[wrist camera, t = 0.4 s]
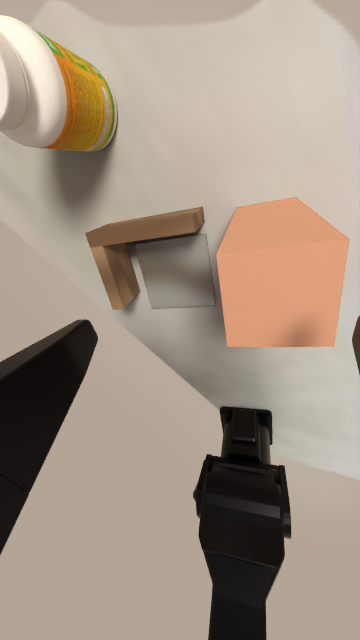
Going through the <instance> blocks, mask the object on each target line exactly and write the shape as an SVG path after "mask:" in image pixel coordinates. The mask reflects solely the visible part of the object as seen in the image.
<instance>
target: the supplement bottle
mask: <svg viewBox="0 0 360 640" xmlns="http://www.w3.org/2000/svg"><path fill="white" fill-rule="evenodd" d="M116 123H117V107H116V101H115V97H114V94H113V91H112V88H111V86H110V84H109V83H108V81H107V79H106V78H105V76H104V75H103V74H102V73H101V72H100V71H99V70H98V69H97V68H96V67H95V66H93V65H92V64H90V63H89V62H87V61H86V60H84V59H82V58H80V57H79V56H77V55H76V54H74V53H72V52H71V51H69V50H67V49H66V48H64V47H62V46H61V45H59V44H57V43H56V42H54V41H52V40H51V39H49V38H48V37H46V36H44V35H43V34H41V33H39V32H38V31H36V30H35V29H33V28H31V27H30V26H28V25H26V24H25V23H23V22H21V21H18V20H17V19H15V18H12V17H8V16H0V130H1V131H2V132H3V133H4V134H5V135H6V136H8V137H9V138H10V139H12V140H14V141H15V142H17V143H19V144H22V145H25V146H29V147H36V148H48V149H60V150H72V151H84V152H94V151H98V150H100V149H102V148H104V147H105V146H106V145H107V144H108V143H109V142H110V140H111V139H112V137H113V135H114V132H115V128H116Z"/></svg>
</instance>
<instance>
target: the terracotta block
mask: <svg viewBox="0 0 360 640" xmlns="http://www.w3.org/2000/svg"><path fill="white" fill-rule="evenodd" d="M348 245H349V238H347V237H346V236H345V235H343V234H342V233H341V232H340V231H338V230H337V229H336V228H335V227H333V226H332V225H331V224H330V223H328V222H327V221H326V220H324V219H323V218H322V217H321V216H319V215H318V214H317V213H316V212H314V211H313V210H312V209H311V208H309V207H308V206H307V205H305V204H304V203H303V202H302V201H300V200H299V199H298V198H297V197H294V198H288V199H282V200H276V201H271V202H265V203H259V204H253V205H247V206H242V207H237V209H236V211H235V213H234V215H233V218H232V220H231V222H230V224H229V227H228V229H227V231H226V234H225V236H224V238H223V240H222V243H221V245H220V247H219V250H218V252H217V254H216V257H217V265H218V274H219V282H220V291H221V299H222V307H223V316H224V324H225V332H226V341H227V347H334V345H335V338H336V331H337V324H338V316H339V309H340V302H341V295H342V288H343V281H344V274H345V267H346V260H347V252H348Z"/></svg>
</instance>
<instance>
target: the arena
mask: <svg viewBox="0 0 360 640" xmlns="http://www.w3.org/2000/svg"><path fill="white" fill-rule="evenodd" d="M204 222H205V221H204V213H203V207H199V208H193V209H188V210H182V211H177V212H171V213H166V214H160V215H155V216H149V217H144V218H138V219H133V220H127V221H122V222H116V223H111V224H107V225H105V226H102V227H100V228H97V229H95V230H92V231H90V232H87V233H85V234H86V237H87V240H88V242H89V245H90V248H91V251H92V253H93V256H94V259H95V262H96V264H97V267H98V270H99V273H100V275H101V278H102V281H103V283H104V286H105V289H106V292H107V294H108V297H109V300H110V303H111V305H112V308H113V310H116V309H124V308H125V307H126V306H127V305H128V304H129V303H130V302H131V301H132V300H133V299H134V298H135V296H136V295H137V294H138V293H139V292H140V289H139V286H138V283H137V279H136V276H135V272H134V269H133V265H132V262H131V259H130V255H129V252H128V248H127V245H126V242H132V241H139V240H146V239H152V238H159V237H166V236H172V235H179V234H186V233H192V232H196V231H197V230H198V229H199V227H200V226H201V225H202V224H203V223H204ZM135 249H136V252H137V256H138V260H139V263H140V267H141V270H142V274H143V278H144V281H145V285H146V288H147V292H148V296H149V299H150V303H151V306H152V308H170V307H189V306H208V305H215V304H216V303H215V295H214V288H213V281H212V273H211V266H210V258H209V251H208V243H207V236H206V234H200V235H193V236H186V237H179V238H172V239H166V240H159V241H152V242H145V243H138V244H135Z"/></svg>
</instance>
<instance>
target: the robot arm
mask: <svg viewBox="0 0 360 640" xmlns="http://www.w3.org/2000/svg"><path fill="white" fill-rule="evenodd" d="M97 341H98V336H97V334H96V332H95V330H94V328H93V326H92V324H91V322H90V321H89V320H77V321H75V322H73V323H71V324H69V325H67V326H66V327H64V328H62V329H60V330H58V331H57V332H55V333H53V334H51V335H49V336H47V337H46V338H44V339H42V340H40V341H38V342H36V343H34V344H32V345H31V346H29V347H27V348H25V349H23V350H22V351H20V352H18V353H16V354H14V355H13V356H11V357H9V358H7V359H5V360H3V361H1V362H0V555H1V552H2V550H3V548H4V546H5V544H6V542H7V539H8V538H9V536H10V533H11V531H12V529H13V527H14V525H15V523H16V520H17V519H18V517H19V514H20V512H21V510H22V508H23V506H24V504H25V502H26V500H27V497H28V495H29V492H30V491H31V489H32V486H33V484H34V482H35V480H36V478H37V476H38V474H39V472H40V470H41V467H42V465H43V463H44V461H45V459H46V457H47V455H48V453H49V451H50V448H51V446H52V444H53V442H54V440H55V438H56V435H57V434H58V432H59V429H60V427H61V425H62V423H63V421H64V419H65V417H66V415H67V413H68V410H69V408H70V406H71V404H72V402H73V400H74V398H75V396H76V394H77V391H78V389H79V387H80V385H81V383H82V381H83V379H84V376H85V374H86V372H87V369H88V366H89V363H90V361H91V358H92V355H93V352H94V349H95V347H96V344H97ZM352 344H353V348H354V353H355V357H356V361H357V365H358V370H359V374H360V316H359V317H358V319H357V322H356V326H355V329H354V333H353V337H352ZM267 414H268V415H267ZM220 416H221V422H222V428H223V443H222V451H221V452H222V453H221V457H218V456H212V455H210V454H207V456H206V459H205V460H204V462H203V466H202V470H201V474H200V477H199V481H198V483H197V486H196V488H195V490H194V493H193V498H194V500H195V501H196V509H197V516H198V517H199V518H200V526H199V539H200V543H201V547H202V550H203V552H204V555H205V559H206V562H207V566H208V569H209V573H210V576H211V579H212V583H213V589H212V601H211V614H210V625H209V638H208V640H266V605H265V604H266V600H267V597H268V595H269V593H270V591H271V588H272V586H273V584H274V582H275V580H276V577H277V575H278V573H279V571H280V568H281V566H282V563H283V560H284V555H285V551H284V537H285V538H289V539H291V516H290V505H289V496H288V488H287V482H286V474H285V466H283V465H279V466H277V465H271V461H270V445H272V412H271V411H268V410H255V409H242V408H229V407H221V408H220Z"/></svg>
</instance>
